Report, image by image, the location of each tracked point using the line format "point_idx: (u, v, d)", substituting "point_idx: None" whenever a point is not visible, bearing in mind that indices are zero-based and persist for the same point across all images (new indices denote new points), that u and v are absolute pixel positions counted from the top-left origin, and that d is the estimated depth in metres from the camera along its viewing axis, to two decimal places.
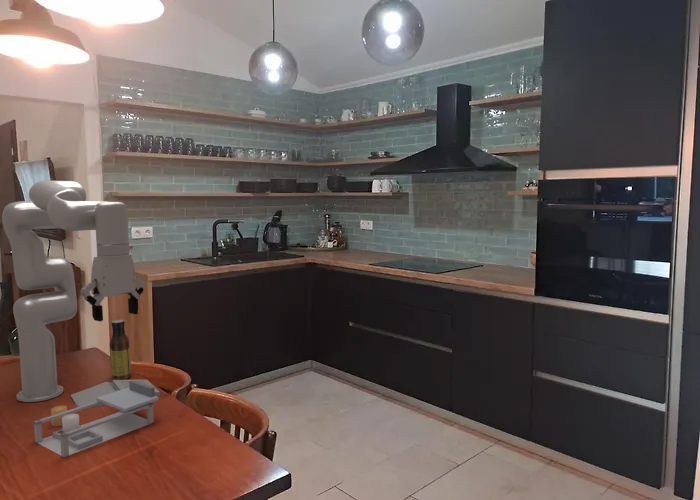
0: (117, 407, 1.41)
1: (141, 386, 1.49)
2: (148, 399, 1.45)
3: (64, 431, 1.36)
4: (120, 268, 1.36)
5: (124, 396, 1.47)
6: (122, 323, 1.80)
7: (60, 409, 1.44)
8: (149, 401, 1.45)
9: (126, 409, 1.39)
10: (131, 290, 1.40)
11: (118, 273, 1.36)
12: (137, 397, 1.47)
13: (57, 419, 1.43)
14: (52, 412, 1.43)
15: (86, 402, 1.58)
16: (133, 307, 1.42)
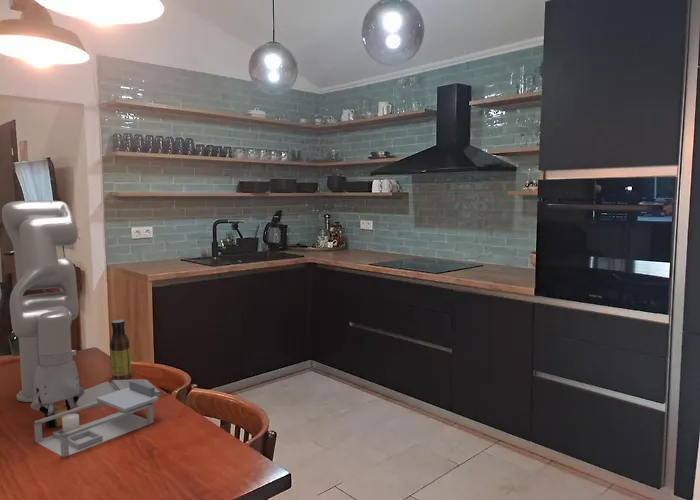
0: (117, 407, 1.41)
1: (141, 386, 1.49)
2: (148, 399, 1.45)
3: (64, 431, 1.36)
4: (62, 376, 1.42)
5: (124, 396, 1.47)
6: (122, 323, 1.80)
7: (60, 409, 1.44)
8: (149, 401, 1.45)
9: (126, 409, 1.39)
10: (74, 394, 1.46)
11: (60, 381, 1.42)
12: (137, 397, 1.47)
13: (57, 419, 1.43)
14: None
15: (86, 402, 1.58)
16: None
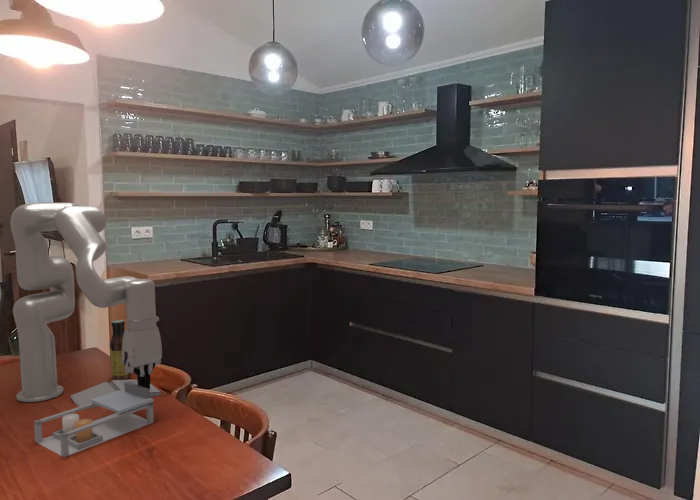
0: (111, 409, 1.40)
1: (136, 388, 1.48)
2: (143, 401, 1.44)
3: (64, 431, 1.36)
4: (148, 340, 1.48)
5: (119, 398, 1.46)
6: (122, 323, 1.80)
7: (85, 423, 1.33)
8: (144, 403, 1.43)
9: (121, 411, 1.38)
10: (157, 359, 1.52)
11: (146, 345, 1.48)
12: (132, 399, 1.45)
13: (81, 433, 1.32)
14: (76, 426, 1.32)
15: (87, 402, 1.58)
16: None
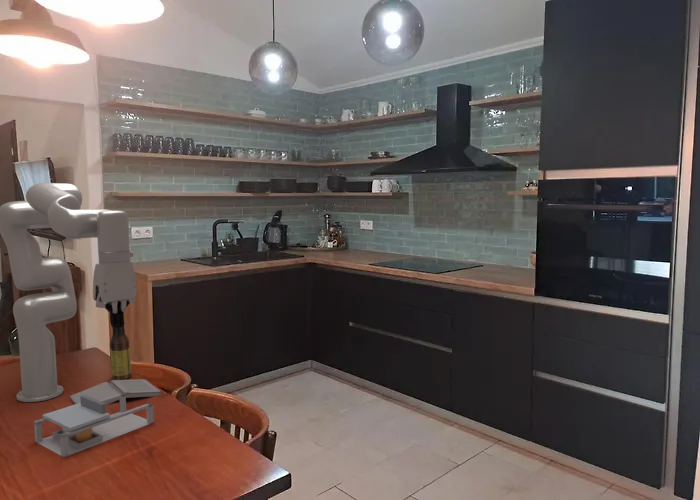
0: (63, 426, 1.29)
1: (92, 402, 1.38)
2: (98, 416, 1.34)
3: (64, 431, 1.36)
4: (121, 275, 1.40)
5: (73, 413, 1.36)
6: None
7: None
8: (99, 419, 1.33)
9: (72, 428, 1.28)
10: (132, 296, 1.44)
11: (119, 280, 1.40)
12: (87, 414, 1.35)
13: (78, 433, 1.32)
14: None
15: None
16: None
